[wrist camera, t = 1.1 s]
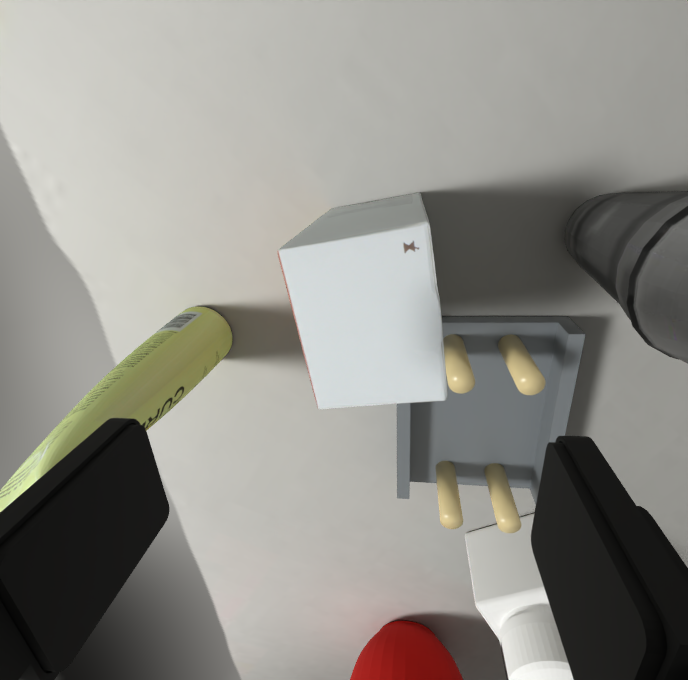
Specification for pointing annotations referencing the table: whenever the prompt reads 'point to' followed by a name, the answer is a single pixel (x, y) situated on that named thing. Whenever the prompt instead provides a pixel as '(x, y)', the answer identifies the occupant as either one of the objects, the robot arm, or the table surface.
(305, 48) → the table surface
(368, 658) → the ceramic cup
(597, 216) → the beverage cup
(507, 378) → the pin tray
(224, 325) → the tube
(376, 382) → the small box
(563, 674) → the medicine bottle
